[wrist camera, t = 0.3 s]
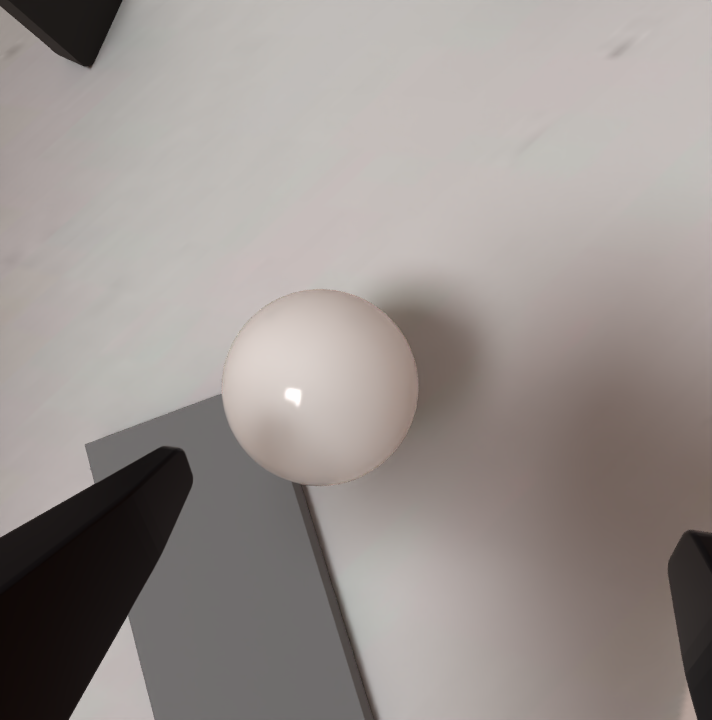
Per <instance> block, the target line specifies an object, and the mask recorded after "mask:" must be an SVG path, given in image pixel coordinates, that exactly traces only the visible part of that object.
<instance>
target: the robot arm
mask: <svg viewBox="0 0 712 720" xmlns="http://www.w3.org/2000/svg"><path fill="white" fill-rule="evenodd" d="M192 485H193V473H192V470H191V468H190V465H189V462H188V459H187V456H186V453H185V451H184V450H183V449H182V448H179V447H173V446H161V447H159V448H157V449H155V450H154V451H152V452H150V453H148V454H147V455H145V456H143V457H141V458H139V459H138V460H136V461H134V462H132V463H131V464H129V465H127V466H125V467H124V468H122V469H120V470H118V471H117V472H115V473H113V474H111V475H110V476H108V477H106V478H104V479H103V480H101V481H99V482H97V483H95V484H94V485H92V486H90V487H88V488H87V489H85V490H83V491H81V492H80V493H78V494H76V495H74V496H73V497H71V498H69V499H67V500H66V501H64V502H62V503H60V504H59V505H57V506H55V507H53V508H51V509H50V510H48V511H46V512H44V513H43V514H41V515H39V516H37V517H36V518H34V519H32V520H30V521H29V522H27V523H25V524H23V525H22V526H20V527H18V528H16V529H14V530H13V531H11V532H9V533H7V534H6V535H4V536H2V537H0V720H69V718H70V716H71V715H72V713H73V711H74V709H75V708H76V706H77V704H78V702H79V701H80V699H81V697H82V695H83V693H84V692H85V690H86V688H87V686H88V685H89V683H90V681H91V679H92V678H93V676H94V674H95V672H96V670H97V669H98V667H99V665H100V663H101V662H102V660H103V658H104V656H105V655H106V653H107V651H108V649H109V648H110V646H111V644H112V642H113V640H114V639H115V637H116V635H117V633H118V632H119V630H120V628H121V626H122V625H123V623H124V621H125V619H126V617H127V616H128V614H129V612H130V610H131V609H132V607H133V605H134V603H135V602H136V600H137V598H138V596H139V594H140V593H141V591H142V589H143V587H144V586H145V584H146V582H147V580H148V579H149V577H150V575H151V573H152V572H153V570H154V568H155V566H156V564H157V562H158V560H159V559H160V557H161V555H162V553H163V551H164V549H165V546H166V544H167V542H168V540H169V538H170V535H171V533H172V531H173V529H174V526H175V524H176V522H177V520H178V517H179V515H180V513H181V511H182V508H183V506H184V504H185V502H186V499H187V497H188V495H189V493H190V490H191V488H192ZM668 577H669V583H670V589H671V595H672V601H673V607H674V613H675V619H676V625H677V631H678V637H679V643H680V649H681V655H682V660H683V666H684V671H685V676H686V680H687V683H688V687H689V691H690V695H691V699H692V702H693V706H694V709H695V713H696V716H697V720H712V533H709V532H702V531H696V530H688V531H686V532H684V534H683V535H682V537H681V539H680V541H679V542H678V544H677V546H676V548H675V550H674V552H673V553H672V555H671V557H670V559H669V563H668Z"/></svg>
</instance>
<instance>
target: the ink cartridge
mask: <svg viewBox="0 0 712 720" xmlns="http://www.w3.org/2000/svg"><path fill="white" fill-rule="evenodd" d="M121 2H122V0H0V6H1V7H2V8H3V9H5V10H6V11H7V12H8V13H9V14H10V15H12V16H13V17H14V18H15V19H16V20H18V21H19V22H20V23H21V24H22V25H23V26H25V27H26V28H27V29H28V30H29V31H31V32H32V33H33V34H34V35H35V36H36V37H38V38H39V39H40V40H41V41H42V42H44V43H45V44H46V45H47V46H48V47H49V48H51V50H52V51H54V52H55V53H57V54H58V55H60V56H62V57H64V58H67V59H69V60H71V61H74V62H76V63H78V64H80V65H83V66H90V65H91V64H92V63H93V62H94V60H95V58H96V56H97V54H98V52H99V50H100V48H101V46H102V43H103V41H104V39H105V37H106V35H107V33H108V30H109V28H110V26H111V24H112V22H113V20H114V17H115V15H116V13H117V11H118V8H119V6H120V4H121Z"/></svg>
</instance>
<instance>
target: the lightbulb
mask: <svg viewBox="0 0 712 720" xmlns="http://www.w3.org/2000/svg"><path fill="white" fill-rule="evenodd" d="M418 392H419V382H418V372H417V367H416V362H415V359H414V356H413V353H412V350H411V348H410V346H409V344H408V342H407V340H406V338H405V336H404V335H403V333H402V332H401V330H400V329H399V328H398V326H397V325H396V324H395V323H394V322H393V321H392V319H391V318H390V317H389V316H387V315H386V314H385V313H384V312H383V311H382V310H380V309H379V308H378V307H376V306H375V305H373V304H372V303H370V302H368V301H366V300H364V299H362V298H360V297H358V296H355V295H352V294H349V293H345V292H341V291H336V290H327V289H313V290H304V291H299V292H295V293H292V294H289V295H286V296H283V297H281V298H279V299H277V300H275V301H273V302H271V303H269V304H268V305H266V306H265V307H263V308H262V309H261V310H259V311H258V312H257V313H256V314H255V315H253V316H252V317H251V318H250V319H249V320H248V322H247V323H246V324H245V325H244V326H243V328H242V329H241V330H240V332H239V333H238V335H237V336H236V338H235V339H234V341H233V343H232V345H231V347H230V350H229V352H228V355H227V358H226V361H225V365H224V369H223V375H222V401H223V407H224V411H225V415H226V418H227V421H228V424H229V426H230V429H231V431H232V433H233V435H234V437H235V438H236V440H237V441H238V443H239V444H240V446H241V447H242V448H243V450H244V451H245V452H246V453H247V454H248V455H249V456H250V457H251V458H252V459H253V460H254V461H255V462H256V463H257V464H259V465H260V466H261V467H263V468H264V469H265V470H267V471H269V472H270V473H272V474H274V475H276V476H278V477H280V478H283V479H285V480H288V481H291V482H294V483H298V484H303V485H311V486H329V485H337V484H342V483H346V482H349V481H352V480H355V479H357V478H360V477H362V476H364V475H366V474H368V473H369V472H371V471H373V470H374V469H376V468H377V467H379V466H380V465H381V464H382V463H384V462H385V461H386V460H387V459H388V458H389V457H390V456H391V455H392V454H393V453H394V452H395V450H396V449H397V448H398V447H399V445H400V444H401V443H402V441H403V440H404V438H405V436H406V434H407V433H408V431H409V429H410V426H411V424H412V421H413V418H414V415H415V412H416V407H417V402H418Z"/></svg>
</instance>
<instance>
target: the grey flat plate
mask: <svg viewBox="0 0 712 720" xmlns="http://www.w3.org/2000/svg"><path fill="white" fill-rule="evenodd" d="M161 446H173V447H179V448H182V449H183V450H184V451H185V453H186V456H187V459H188V462H189V465H190V468H191V470H192V473H193V485H192V488H191V490H190V493H189V495H188V497H187V499H186V502H185V504H184V506H183V508H182V511H181V513H180V515H179V517H178V520H177V522H176V524H175V526H174V529H173V531H172V533H171V535H170V538H169V540H168V542H167V544H166V546H165V549H164V551H163V553H162V555H161V557H160V559H159V560H158V562H157V564H156V566H155V568H154V570H153V572H152V573H151V575H150V577H149V579H148V580H147V582H146V584H145V586H144V587H143V589H142V591H141V593H140V594H139V596H138V598H137V600H136V602H135V603H134V605H133V607H132V609H131V610H130V612H129V614H128V617H129V620H130V624H131V628H132V632H133V636H134V640H135V644H136V648H137V652H138V656H139V660H140V664H141V668H142V672H143V675H144V679H145V683H146V687H147V691H148V695H149V699H150V703H151V707H152V711H153V715H154V719H155V720H374V719H373V716H372V712H371V709H370V706H369V703H368V699H367V696H366V693H365V690H364V687H363V683H362V680H361V677H360V674H359V670H358V667H357V664H356V661H355V658H354V654H353V651H352V648H351V645H350V641H349V638H348V635H347V632H346V629H345V625H344V622H343V619H342V616H341V612H340V609H339V606H338V603H337V599H336V596H335V593H334V590H333V587H332V583H331V580H330V577H329V574H328V570H327V567H326V564H325V561H324V558H323V554H322V551H321V548H320V545H319V541H318V538H317V535H316V532H315V529H314V525H313V522H312V519H311V516H310V512H309V509H308V506H307V503H306V500H305V496H304V493H303V490H302V487H301V484H298V483H294V482H291V481H288V480H285V479H283V478H280V477H278V476H276V475H274V474H272V473H270V472H269V471H267V470H265V469H264V468H263V467H261V466H260V465H259V464H257V463H256V462H255V461H254V460H253V459H252V458H251V457H250V456H249V455H248V454H247V453H246V452H245V451H244V450H243V448H242V447H241V446H240V444H239V443H238V441H237V440H236V438H235V437H234V435H233V433H232V431H231V429H230V426H229V424H228V421H227V418H226V415H225V411H224V407H223V401H222V394H220V395H217V396H214V397H212V398H209V399H206V400H204V401H201V402H198V403H195V404H193V405H190V406H187V407H185V408H182V409H179V410H177V411H174V412H171V413H169V414H166V415H163V416H160V417H158V418H155V419H152V420H150V421H147V422H144V423H142V424H139V425H136V426H134V427H131V428H128V429H125V430H123V431H120V432H117V433H115V434H112V435H109V436H107V437H104V438H101V439H98V440H96V441H93V442H90V443H88V444H85V448H86V452H87V456H88V459H89V463H90V467H91V471H92V475H93V479H94V483H97V482H99V481H101V480H103V479H104V478H106V477H108V476H110V475H111V474H113V473H115V472H117V471H118V470H120V469H122V468H124V467H125V466H127V465H129V464H131V463H132V462H134V461H136V460H138V459H139V458H141V457H143V456H145V455H147V454H148V453H150V452H152V451H154V450H155V449H157V448H159V447H161Z"/></svg>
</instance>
